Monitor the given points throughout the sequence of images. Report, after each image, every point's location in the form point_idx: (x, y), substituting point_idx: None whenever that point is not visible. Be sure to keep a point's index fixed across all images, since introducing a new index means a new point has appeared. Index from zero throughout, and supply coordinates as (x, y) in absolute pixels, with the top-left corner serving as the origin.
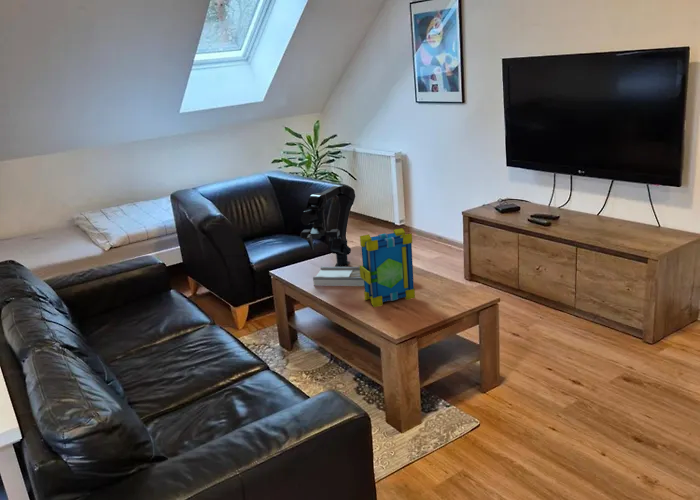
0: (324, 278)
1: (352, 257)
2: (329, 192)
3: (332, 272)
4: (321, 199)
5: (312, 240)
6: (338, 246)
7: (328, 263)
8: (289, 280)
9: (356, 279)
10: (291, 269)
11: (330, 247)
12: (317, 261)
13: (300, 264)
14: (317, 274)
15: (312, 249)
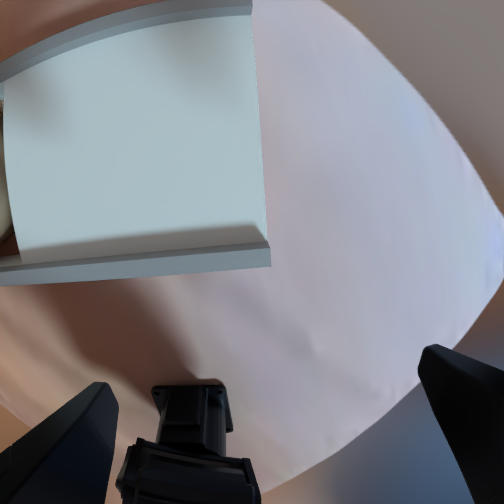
0: (145, 8)
1: None
2: None
3: (133, 184)
4: None
5: (477, 493)
6: (162, 493)
7: (282, 413)
8: (442, 124)
9: None
10: (459, 302)
11: (66, 412)
12: (347, 419)
13: None
14: (257, 115)
15: (437, 351)
